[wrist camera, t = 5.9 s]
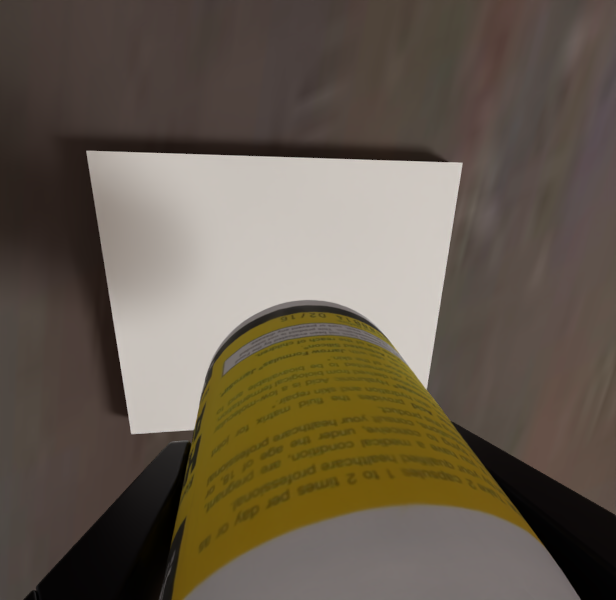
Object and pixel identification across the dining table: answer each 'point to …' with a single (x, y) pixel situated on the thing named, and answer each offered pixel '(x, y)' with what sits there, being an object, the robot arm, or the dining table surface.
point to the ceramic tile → (261, 257)
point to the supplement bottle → (339, 478)
